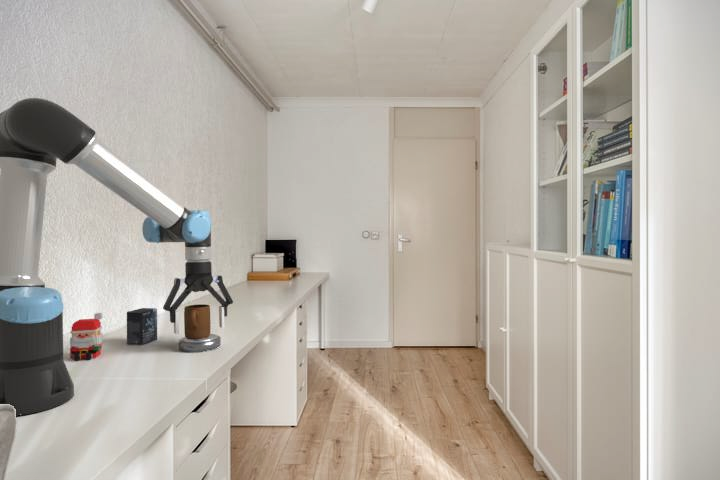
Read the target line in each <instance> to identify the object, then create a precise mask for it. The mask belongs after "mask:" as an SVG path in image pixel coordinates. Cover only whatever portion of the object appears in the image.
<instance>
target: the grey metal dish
mask: <svg viewBox="0 0 720 480" xmlns="http://www.w3.org/2000/svg"><path fill="white" fill-rule="evenodd" d="M220 345H221V336H219V335H218V334H215V333H214V334H213V333H210V335H209V336H208V337H205V338H199V339H188V338H186V337H185V336H184V337H182V338H180V339H179V340H178V350H179V351H180V352H181V353H204V352H203V351H205V352H208V351H207V350H210V351H213V350H212V349H214V350H216V349H215V348H217V347H219V346H220ZM220 347H221V346H220ZM220 347H219V348H220ZM217 349H218V348H217Z"/></svg>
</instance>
